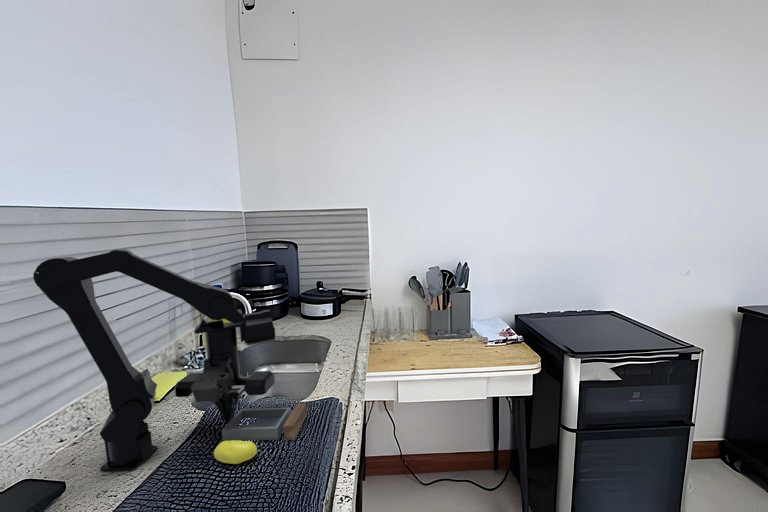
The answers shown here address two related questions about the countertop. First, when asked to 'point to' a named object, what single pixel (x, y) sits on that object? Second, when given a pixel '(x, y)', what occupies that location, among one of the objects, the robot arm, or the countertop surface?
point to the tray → (257, 424)
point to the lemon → (235, 451)
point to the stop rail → (295, 421)
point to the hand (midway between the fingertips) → (229, 423)
